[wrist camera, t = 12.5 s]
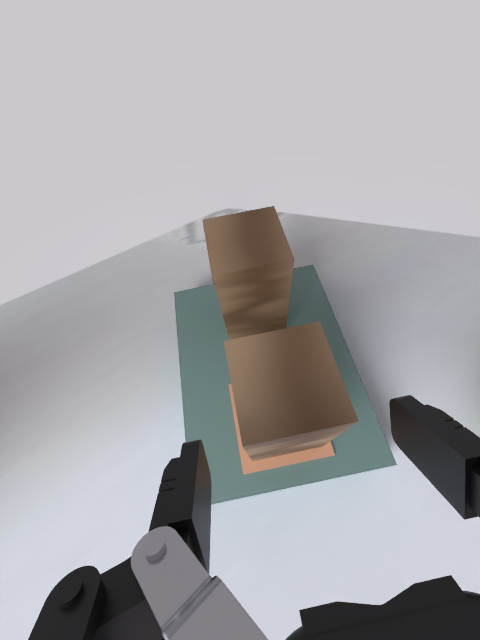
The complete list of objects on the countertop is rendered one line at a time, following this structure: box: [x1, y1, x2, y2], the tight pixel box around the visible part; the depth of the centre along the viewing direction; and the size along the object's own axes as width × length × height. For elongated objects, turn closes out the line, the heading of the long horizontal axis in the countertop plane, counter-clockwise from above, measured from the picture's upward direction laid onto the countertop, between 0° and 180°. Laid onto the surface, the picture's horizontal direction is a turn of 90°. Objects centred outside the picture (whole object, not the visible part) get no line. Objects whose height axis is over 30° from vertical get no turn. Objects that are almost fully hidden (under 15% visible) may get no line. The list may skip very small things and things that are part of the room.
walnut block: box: [224, 321, 358, 462], centre depth 17 cm, size 5×5×9 cm
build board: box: [174, 265, 397, 504], centre depth 25 cm, size 14×18×3 cm
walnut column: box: [203, 206, 294, 340], centre depth 22 cm, size 5×5×9 cm
